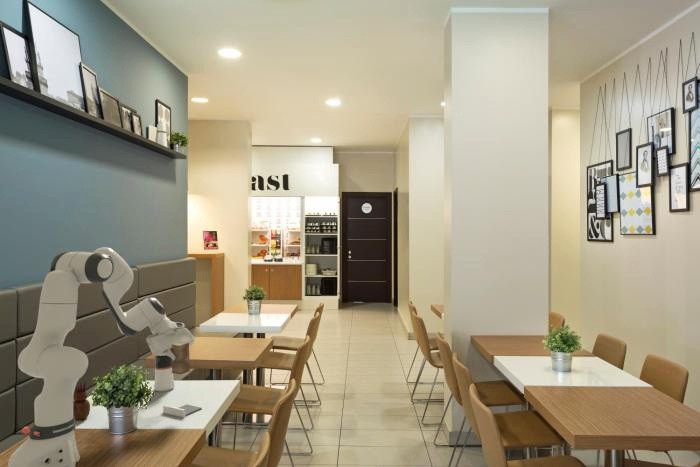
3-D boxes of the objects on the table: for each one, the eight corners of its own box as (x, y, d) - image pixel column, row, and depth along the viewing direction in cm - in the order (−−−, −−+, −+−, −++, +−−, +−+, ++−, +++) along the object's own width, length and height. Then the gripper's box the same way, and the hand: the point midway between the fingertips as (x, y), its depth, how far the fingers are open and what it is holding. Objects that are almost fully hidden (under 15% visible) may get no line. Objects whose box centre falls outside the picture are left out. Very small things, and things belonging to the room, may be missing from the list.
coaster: (185, 416, 207) (185, 414, 207) (170, 412, 212) (170, 411, 212) (201, 409, 215) (201, 407, 215) (186, 405, 219) (186, 404, 219)
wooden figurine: (93, 416, 209) (92, 380, 209) (84, 421, 203) (83, 384, 203) (77, 415, 210) (76, 379, 209) (68, 421, 204) (67, 384, 204)
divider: (183, 417, 206) (183, 410, 206) (163, 412, 212) (163, 405, 212) (185, 416, 206) (184, 409, 206) (164, 412, 212) (164, 404, 212)
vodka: (172, 391, 239) (170, 328, 239) (151, 392, 238) (150, 329, 237) (176, 385, 248) (175, 324, 248) (156, 386, 247) (155, 325, 247)
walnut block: (180, 374, 208) (179, 345, 208) (172, 372, 210) (171, 344, 210) (189, 371, 212) (188, 342, 212) (181, 369, 215) (180, 341, 214)
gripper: (147, 332, 205) (165, 358, 201) (186, 322, 223) (203, 346, 218) (140, 341, 207) (157, 368, 203) (179, 331, 225) (196, 355, 221)
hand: (181, 357), depth 211 cm, fingers closed on walnut block, 5 cm apart
